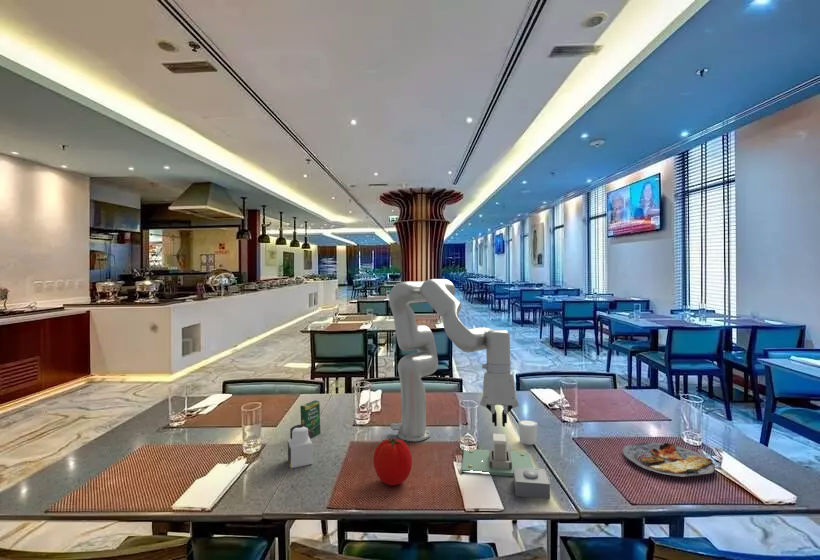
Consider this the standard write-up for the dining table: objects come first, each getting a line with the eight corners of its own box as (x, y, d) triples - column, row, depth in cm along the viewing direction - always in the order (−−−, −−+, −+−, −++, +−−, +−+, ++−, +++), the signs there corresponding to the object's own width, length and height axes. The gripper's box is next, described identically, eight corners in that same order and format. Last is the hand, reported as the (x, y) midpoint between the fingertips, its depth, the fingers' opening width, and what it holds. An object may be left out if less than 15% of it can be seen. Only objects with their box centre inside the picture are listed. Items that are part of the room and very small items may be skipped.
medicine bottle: (287, 460, 137) (287, 424, 137) (309, 456, 140) (308, 421, 140) (290, 468, 131) (289, 431, 131) (312, 464, 133) (312, 428, 133)
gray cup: (538, 445, 145) (538, 426, 145) (519, 444, 146) (518, 425, 146) (536, 438, 152) (536, 419, 152) (518, 437, 153) (517, 419, 153)
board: (461, 472, 126) (461, 468, 126) (464, 451, 141) (464, 447, 141) (535, 477, 122) (535, 473, 122) (529, 455, 137) (529, 451, 137)
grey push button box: (516, 496, 112) (515, 479, 112) (513, 480, 120) (513, 464, 120) (550, 498, 110) (549, 481, 110) (545, 482, 119) (544, 466, 119)
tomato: (416, 474, 125) (415, 432, 125) (407, 495, 113) (406, 448, 113) (380, 471, 128) (379, 429, 128) (367, 491, 116) (367, 445, 116)
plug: (493, 466, 128) (493, 440, 128) (493, 457, 134) (493, 433, 134) (506, 467, 127) (506, 441, 127) (505, 458, 133) (505, 434, 133)
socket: (489, 467, 127) (489, 461, 127) (489, 455, 135) (489, 449, 135) (511, 469, 125) (511, 462, 125) (510, 456, 134) (509, 450, 134)
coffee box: (305, 440, 154) (304, 406, 154) (300, 439, 155) (299, 405, 155) (321, 433, 161) (320, 400, 161) (315, 432, 162) (315, 399, 162)
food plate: (671, 445, 143) (671, 435, 143) (735, 476, 121) (734, 465, 120) (608, 453, 139) (608, 443, 139) (661, 488, 116) (661, 475, 116)
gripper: (473, 370, 128) (474, 428, 128) (525, 371, 125) (526, 430, 125) (473, 365, 136) (474, 420, 136) (522, 366, 133) (523, 422, 133)
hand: (499, 424), depth 130 cm, fingers closed
